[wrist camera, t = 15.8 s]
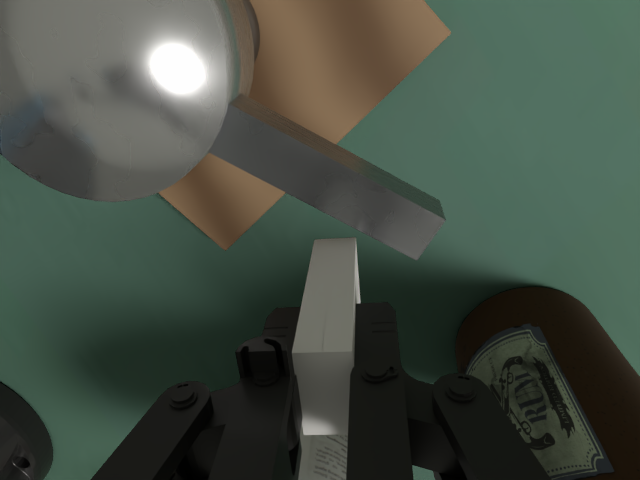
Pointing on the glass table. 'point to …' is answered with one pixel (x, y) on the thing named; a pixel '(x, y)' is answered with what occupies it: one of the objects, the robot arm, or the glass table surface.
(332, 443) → the supplement tub
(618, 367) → the olive oil
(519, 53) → the glass table surface
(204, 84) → the disc with handle bar
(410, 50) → the square wooden board
